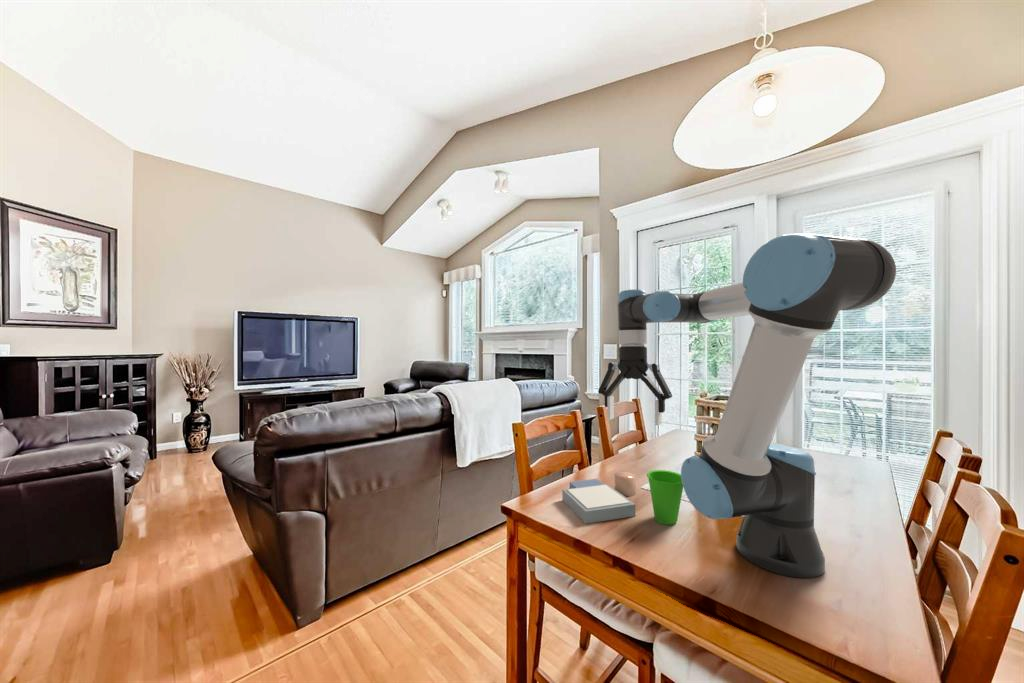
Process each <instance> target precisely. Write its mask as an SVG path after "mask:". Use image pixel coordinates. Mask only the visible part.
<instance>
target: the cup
mask: <svg viewBox="0 0 1024 683" xmlns="http://www.w3.org/2000/svg"><path fill="white" fill-rule="evenodd" d="M646 476H647V478H648V484H649V489H650V496H651V497H650V498H651V503H652V509H653V515H654V516H653V517H654V519H655V520H656V522H658V523H660V524H662V525H667V526H668V525H669V526H670V525H675V524H677V522H678V519H679V512H680V506H681V501H682V497H683V496H682V495H683V490H684V487H683V485H682V480H681V473H678V472H676V471H672V470H667V469H666V470H664V469H654V470H651V471H648V472H647V473H646Z"/></svg>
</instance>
